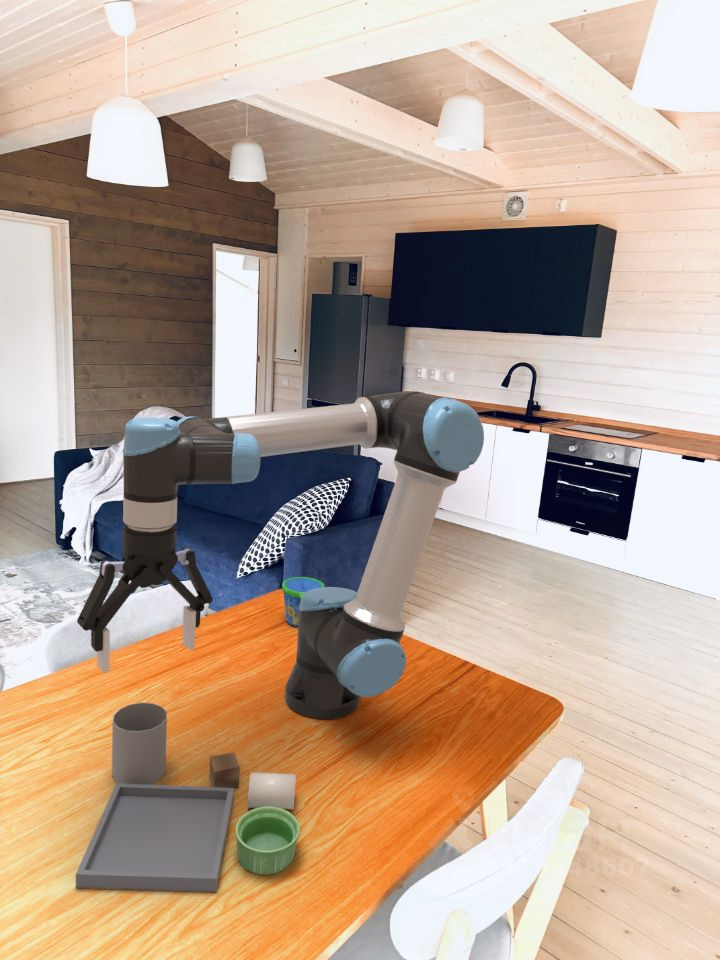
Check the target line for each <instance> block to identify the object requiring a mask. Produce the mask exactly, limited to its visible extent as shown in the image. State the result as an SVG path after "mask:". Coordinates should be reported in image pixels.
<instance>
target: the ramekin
mask: <svg viewBox="0 0 720 960" xmlns="http://www.w3.org/2000/svg"><path fill="white" fill-rule="evenodd" d="M300 831H301V829H300V823H299V822H298V820H297V818H296V817H295V816H294V815H293V814H292V813H291V812H290V811H288V810H287V809H281V808H277V807H259V808H252V809H251V810H249V811H247V812H245V813H244V814H242V816H241V817H240V818H239V819H238V821H237V822H236V825H235V829H234V833H235V839H236V846H237V848H236V849H237V858H238V861H239V863H240V864H241V866H242V867H243V868H244V869H245V870H247V871H249V872H250V873H252V874H256V875H259V876H263V875H264V876H265V875H266V876H269V875H275V874H278V873H280V872H282V871H284V870H285V869H286V868H288V867H289V866H290V865H291V863H292V862H293V860H294V857H295V853H296V847H297V841H298V839H299V836H300Z"/></svg>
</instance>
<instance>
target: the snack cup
mask: <svg viewBox="0 0 720 960" xmlns="http://www.w3.org/2000/svg"><path fill="white" fill-rule="evenodd" d="M281 585H282V586H281V591H282V593H283V602H284V615H285V616H284V617H285V621H286V622H287V623H288V625H289V626H294V627H295V628H296V627H297V628H298V625H299V608H300V602H301V597H302V595H303V594H304V593H305V592H307V591H309V590H311V589H315V588H322V587H325V586H326V585H325V584H324V583H323V582H322V581H321V580H319V579H316V578H313V577H306V576H297V577H296V576H294V577H290V578H287V579H285V580H283V582H282V584H281Z"/></svg>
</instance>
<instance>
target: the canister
mask: <svg viewBox="0 0 720 960" xmlns="http://www.w3.org/2000/svg"><path fill="white" fill-rule="evenodd" d="M296 779H297V775H296V773H277V772H276V773H273V772H272V773H271V772H253V771H252V772H250V776H249V783H248V795H247V808H248V809H256V808H259V807H277V808H281V809H284V810H294V806H295V795H296Z"/></svg>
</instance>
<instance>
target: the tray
mask: <svg viewBox="0 0 720 960" xmlns="http://www.w3.org/2000/svg"><path fill="white" fill-rule="evenodd" d="M234 792H235V789H234V788H221V787H212V786H191V785H171V784H170V785H169V784H168V785H167V784H166V785H163V784H152V785H146V784H121V783H116V782H115V785H114V788H113V790H112V792H111V794H110V796H109V799H108V802H107V803H106V806H105V808H104V810H103V813H102V814H101V817H100V819H99V821H98V824H97V826H96V828H95V830H94V833H93V835H92V837H91V840H90V841H89V844H88V846H87V848H86V850H85V853H84V855H83V857H82V859H81V862H80V864H79V866H78V868H77V871H76V873H75V889H91V888H97V889H98V888H100V889H98V890H125V889H129V890H130V889H132V890H131V891H133V890H134V891H158V892H159V891H167V892H169V891H170V892H192V893H193V892H197V893H198V892H200V893H201V892H202V893H217V889H218V884H219V877H220V872H221V868H222V863H223V858H224V851H225V846H226V842H227V841H226V840H227V837H228V830H229V824H230V819H231V813H232V808H233V802H234ZM102 888H103V889H102ZM106 888H107V889H106ZM108 888H110V889H108ZM97 889H96V890H97Z"/></svg>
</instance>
